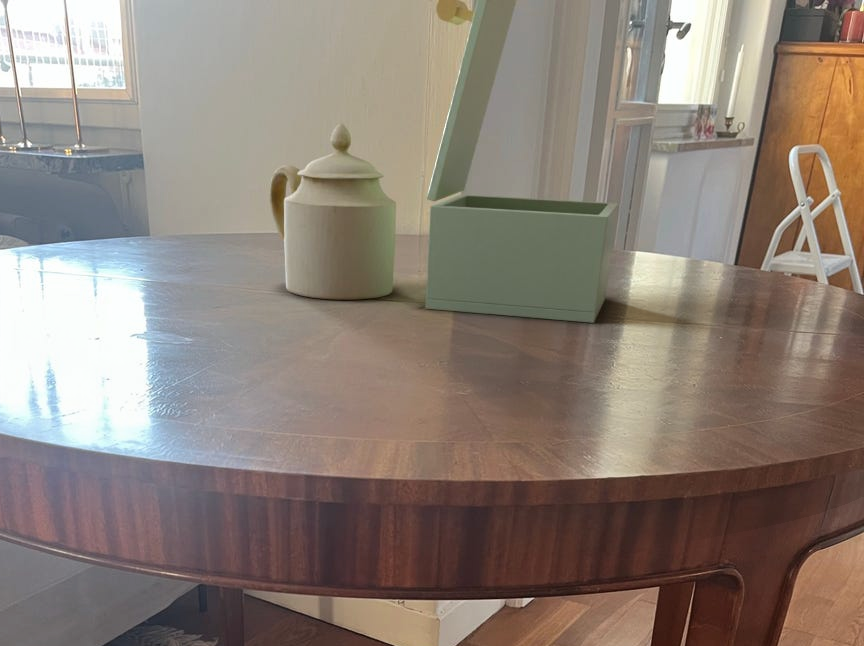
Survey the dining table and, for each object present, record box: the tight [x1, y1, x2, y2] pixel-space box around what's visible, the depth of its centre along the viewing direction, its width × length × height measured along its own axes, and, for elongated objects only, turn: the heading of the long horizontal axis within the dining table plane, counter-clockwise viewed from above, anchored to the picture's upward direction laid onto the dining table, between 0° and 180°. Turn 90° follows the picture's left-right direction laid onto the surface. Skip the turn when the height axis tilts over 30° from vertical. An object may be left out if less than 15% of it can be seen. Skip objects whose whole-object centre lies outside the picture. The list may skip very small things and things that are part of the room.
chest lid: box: [426, 0, 517, 202], centre depth 86 cm, size 17×13×5 cm
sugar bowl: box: [269, 122, 397, 301], centre depth 94 cm, size 15×11×15 cm
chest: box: [425, 194, 619, 324], centre depth 91 cm, size 16×13×9 cm
